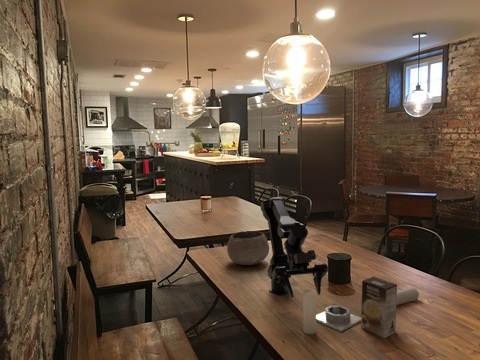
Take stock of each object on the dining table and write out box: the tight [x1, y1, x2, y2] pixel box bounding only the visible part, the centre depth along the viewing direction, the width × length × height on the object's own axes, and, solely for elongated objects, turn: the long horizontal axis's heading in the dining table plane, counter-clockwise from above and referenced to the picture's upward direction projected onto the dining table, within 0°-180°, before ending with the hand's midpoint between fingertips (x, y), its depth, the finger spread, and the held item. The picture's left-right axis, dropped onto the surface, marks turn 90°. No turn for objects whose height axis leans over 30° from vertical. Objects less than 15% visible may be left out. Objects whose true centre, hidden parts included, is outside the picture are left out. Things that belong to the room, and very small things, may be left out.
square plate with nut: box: [316, 305, 362, 333], centre depth 135 cm, size 12×12×3 cm
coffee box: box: [360, 275, 398, 339], centre depth 127 cm, size 9×6×16 cm
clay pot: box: [226, 230, 270, 266], centre depth 197 cm, size 21×21×15 cm
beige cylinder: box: [302, 289, 317, 335], centre depth 127 cm, size 4×4×13 cm
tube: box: [360, 287, 420, 308], centre depth 146 cm, size 5×5×25 cm
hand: (306, 295), depth 130 cm, fingers open, 9 cm apart
